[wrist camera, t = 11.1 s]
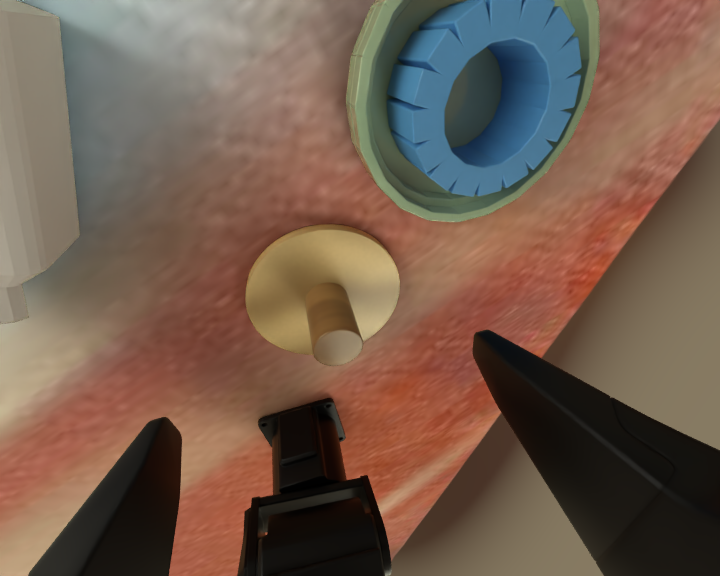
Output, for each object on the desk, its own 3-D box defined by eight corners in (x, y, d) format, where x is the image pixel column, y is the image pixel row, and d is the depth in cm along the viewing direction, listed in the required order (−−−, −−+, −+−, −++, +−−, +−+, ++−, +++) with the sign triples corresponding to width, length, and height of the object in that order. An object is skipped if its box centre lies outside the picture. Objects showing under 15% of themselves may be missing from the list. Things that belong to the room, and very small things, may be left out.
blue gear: (516, 157, 19) (560, 176, 16) (394, 186, 19) (417, 212, 16) (538, -13, 15) (603, -27, 12) (378, 17, 14) (406, 11, 11)
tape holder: (401, 326, 26) (427, 379, 22) (274, 362, 25) (275, 424, 21) (389, 206, 20) (421, 248, 16) (219, 247, 19) (207, 303, 15)
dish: (537, 180, 21) (567, 194, 19) (363, 223, 20) (374, 243, 18) (583, -83, 14) (637, -105, 12) (321, -38, 13) (331, -53, 11)
